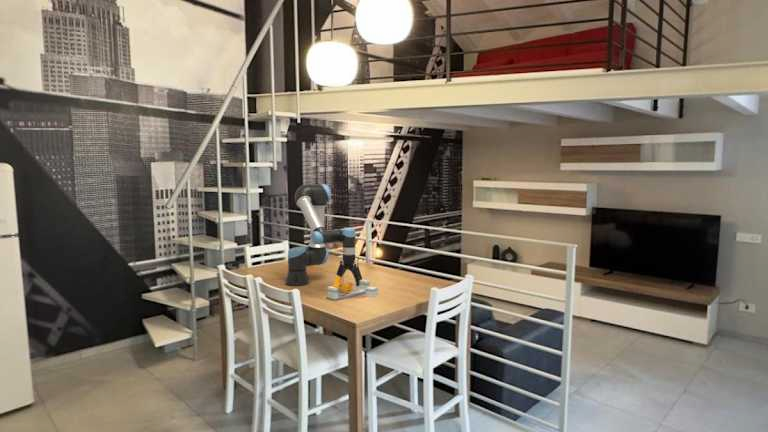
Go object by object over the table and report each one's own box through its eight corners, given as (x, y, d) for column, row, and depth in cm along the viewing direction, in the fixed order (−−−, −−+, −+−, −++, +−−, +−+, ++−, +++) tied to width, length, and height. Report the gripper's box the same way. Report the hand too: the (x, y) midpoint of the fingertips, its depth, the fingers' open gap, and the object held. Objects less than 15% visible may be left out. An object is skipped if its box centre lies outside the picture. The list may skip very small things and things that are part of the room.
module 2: (359, 289, 303) (359, 280, 303) (362, 288, 306) (362, 279, 305) (366, 291, 299) (366, 281, 299) (369, 290, 301) (369, 280, 301)
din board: (326, 298, 286) (326, 296, 286) (361, 290, 306) (361, 288, 306) (335, 301, 281) (335, 298, 281) (370, 292, 301) (370, 290, 301)
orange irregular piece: (337, 287, 282) (342, 277, 284) (332, 286, 285) (337, 275, 287) (351, 294, 290) (355, 284, 292) (346, 293, 293) (350, 283, 295)
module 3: (365, 296, 292) (365, 288, 291) (370, 294, 296) (370, 286, 295) (372, 297, 289) (372, 289, 288) (377, 295, 293) (377, 287, 292)
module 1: (327, 297, 286) (327, 286, 285) (331, 296, 288) (331, 286, 287) (334, 299, 281) (334, 288, 281) (338, 298, 284) (338, 287, 283)
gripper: (330, 252, 297) (330, 286, 299) (358, 257, 280) (358, 294, 282) (340, 250, 303) (340, 284, 305) (368, 255, 285) (368, 291, 287)
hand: (349, 289), depth 293 cm, fingers open, 13 cm apart
